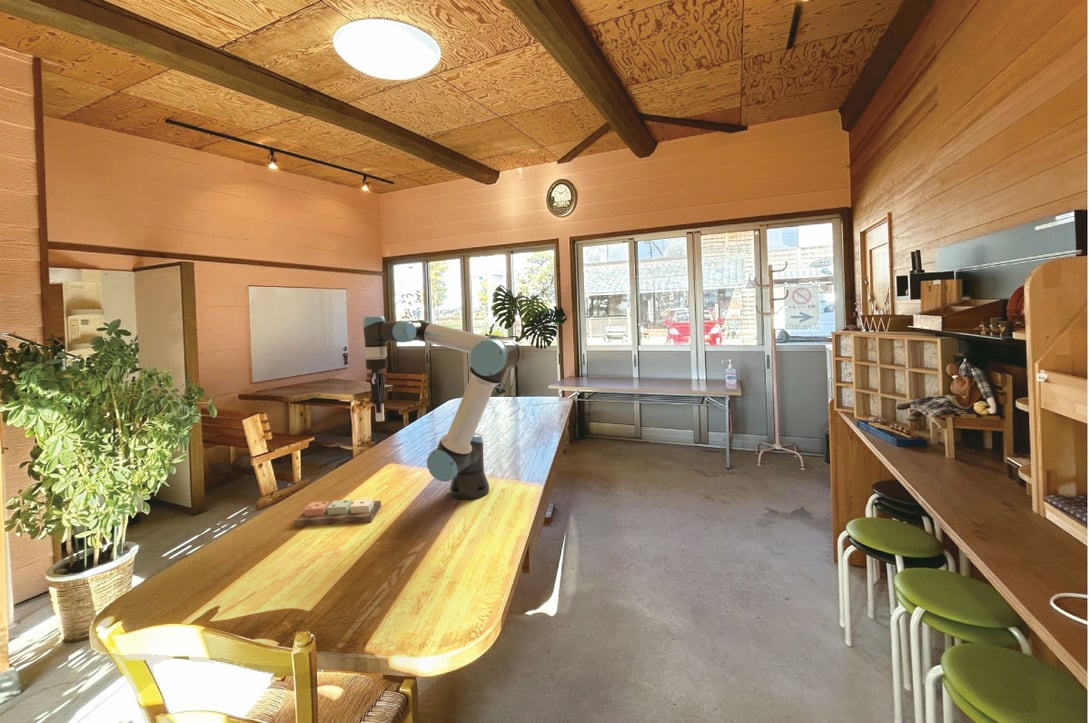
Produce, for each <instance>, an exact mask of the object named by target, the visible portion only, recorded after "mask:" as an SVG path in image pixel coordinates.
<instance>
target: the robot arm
mask: <svg viewBox="0 0 1090 723" xmlns="http://www.w3.org/2000/svg"><path fill="white" fill-rule="evenodd" d="M362 328H363V337H364V338H363V340H364V349H363V352H364V353H365V368H366V370H371V374H370V379H369V384H370V390H371V391H370V392H371V396H372V398H371V399H372V403H371V404H372V405H374V408H375V409H374V411H375V422H384V421H385V408H384V406H385V405H384V403H386V402H387V401H386V400H385V399H386V398H385V395H386V389H385V387H386V386H385V384H386V382H385V380H386V375H385V373H384V371H383V370H384V369H387V368H388V358H387V357H388V350H387V349H388V348H387V343H408V342H409V343H411V342H412V341H420V342H424V343H428V344H432V345H436V346H441V347H444V348H449V349H453V350H456V351H459V352H464V353H468V354H469V362H470V367H469V373H470V374H471V377H470V380H469V382H468V384H467V387H466V389H465V391H464V394H463V396H462V398H461V400H460V403H459V406H458V408H457V410H456V412H455V413H456V414H455V415H454V417H453V419H452V420H453V421H452V422H451V425H450V427H449V429H448V432H447V433H446V434H444V435H442V436H441V438H440V440H439V442H438V444H437V447H436V449H435V450H432V451H431V452H430V453H429V455H428V457H427V459H426V466H427V469H428V471H429V474H430V475H431V477H432V478H434V479H435V480H437V481H439V482H448V481H451V482H450V485H449V496H450V497H452V498H454V499H457V500H474V499H477V498H481V497H484V496H486V495H487V494H489V493H490V484H489V481H488V479H487V476H486V474H485V468H484V466H485V464H484V463H485V462H484V459H485V458H484V441H483V436H482V434H480V433H476V430H477V428H478V426H479V425H480V424H479V423H480V421H481V419H482V417H483V415H484V413H485V410H486V407H487V405H488V403H489V400H490V399H491V396H492V394H493V391H494V389H495V387H496V386H498V385H500V384H502V381H503V380H504V378H505V375H506V373H507V371H508V370H511V369H513V368H515V367H517V365H518V364H519V363H520V361H521V358H522V349H521V347H520V345H519V343H518V342H517V341H516V339H513V338H512V337H510V336H509V337H508V336H501V335H500V336H499V335H495V334H491V335H490V336H487V335H483V334H478V333H475V332H470V331H465V330H461V329H457V328H452V327H449V326H445V325H441V324H440V325H439V324H436V323H431V322H430V321H428V320H423V319H418V320H398V321H397V320H393V321H391V320H390V321H387V320H386V319H385V316H382V315H380V316H379V315H378V316H376V315H375V316H373V315H372V316H365V317H364V318H363V327H362Z"/></svg>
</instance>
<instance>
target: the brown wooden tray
mask: <svg viewBox="0 0 1090 723" xmlns="http://www.w3.org/2000/svg"><path fill="white" fill-rule="evenodd" d="M354 502H355V501H352V504H353V503H354ZM381 507H382V501H381V500H374V507H373V509H372V510H371V512H367V513H351V510H350V511H349V512H348V513H347V514H334V515H328V511H327V513H326V514H325V515H318V516H305V513H304V512H303V513H302V514H301V515H299V516H298V518H296V519H295V528H301V527H303V528H304V527H317V526H329V525H330V526H332V525H347V524H348V525H349V524H351V525H352V524H362V523H363V524H364V523H365V524H367V523H372V521H373V520H374V519H375V517H376V515H377V514H378V512H379V511H380V509H381Z"/></svg>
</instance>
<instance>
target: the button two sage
mask: <svg viewBox="0 0 1090 723" xmlns="http://www.w3.org/2000/svg"><path fill="white" fill-rule="evenodd" d="M352 502H353V501H352V499H342V500H341V499H339V500H333V501H332V502H331V503H329V504H330V505H329V507H328V508H327V509H328V515H334V514H347V513H348V512H349V511H350V510H351V508H350V507H351V505H352Z"/></svg>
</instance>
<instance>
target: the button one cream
mask: <svg viewBox="0 0 1090 723" xmlns="http://www.w3.org/2000/svg"><path fill="white" fill-rule="evenodd" d="M374 501H375V500H374V498H365V499H364V498H363V499H355V501H353V502H354V503H353V504H352V505H351V507H350V508H351V513H367V512H371V510H372V509H373V507H374Z"/></svg>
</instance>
